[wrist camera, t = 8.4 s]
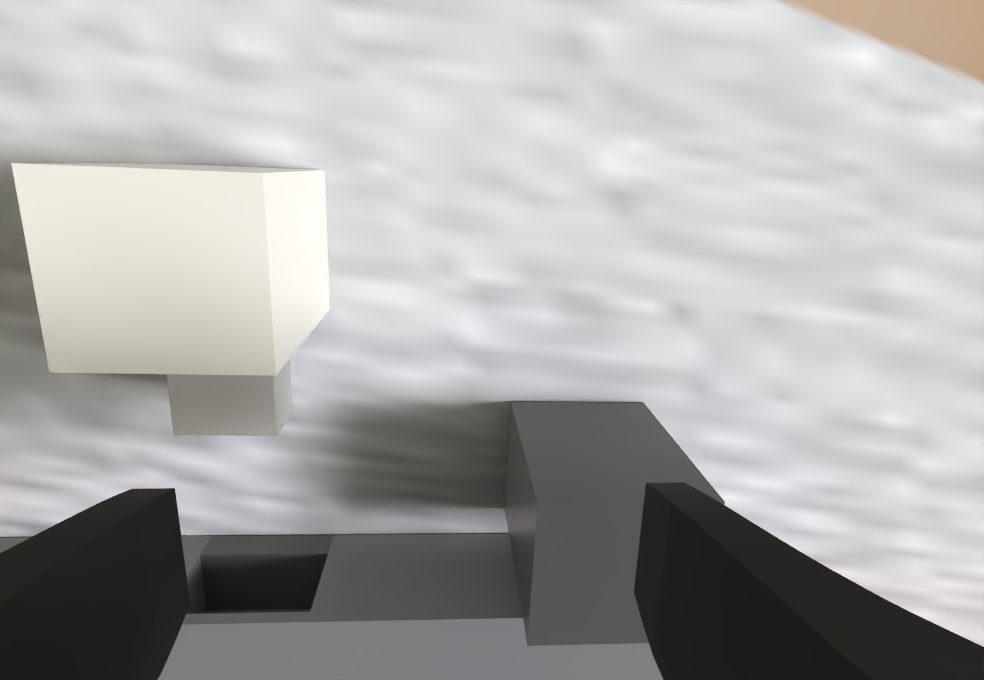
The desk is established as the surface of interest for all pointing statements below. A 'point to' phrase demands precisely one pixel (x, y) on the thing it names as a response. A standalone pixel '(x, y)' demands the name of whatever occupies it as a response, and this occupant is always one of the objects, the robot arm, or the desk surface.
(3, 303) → the desk surface
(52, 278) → the block
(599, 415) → the grey slotted block
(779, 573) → the robot arm
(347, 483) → the desk surface
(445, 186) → the desk surface
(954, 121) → the desk surface
